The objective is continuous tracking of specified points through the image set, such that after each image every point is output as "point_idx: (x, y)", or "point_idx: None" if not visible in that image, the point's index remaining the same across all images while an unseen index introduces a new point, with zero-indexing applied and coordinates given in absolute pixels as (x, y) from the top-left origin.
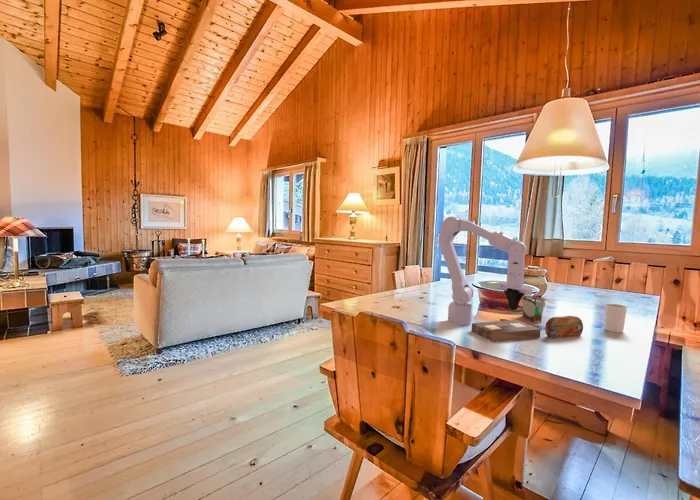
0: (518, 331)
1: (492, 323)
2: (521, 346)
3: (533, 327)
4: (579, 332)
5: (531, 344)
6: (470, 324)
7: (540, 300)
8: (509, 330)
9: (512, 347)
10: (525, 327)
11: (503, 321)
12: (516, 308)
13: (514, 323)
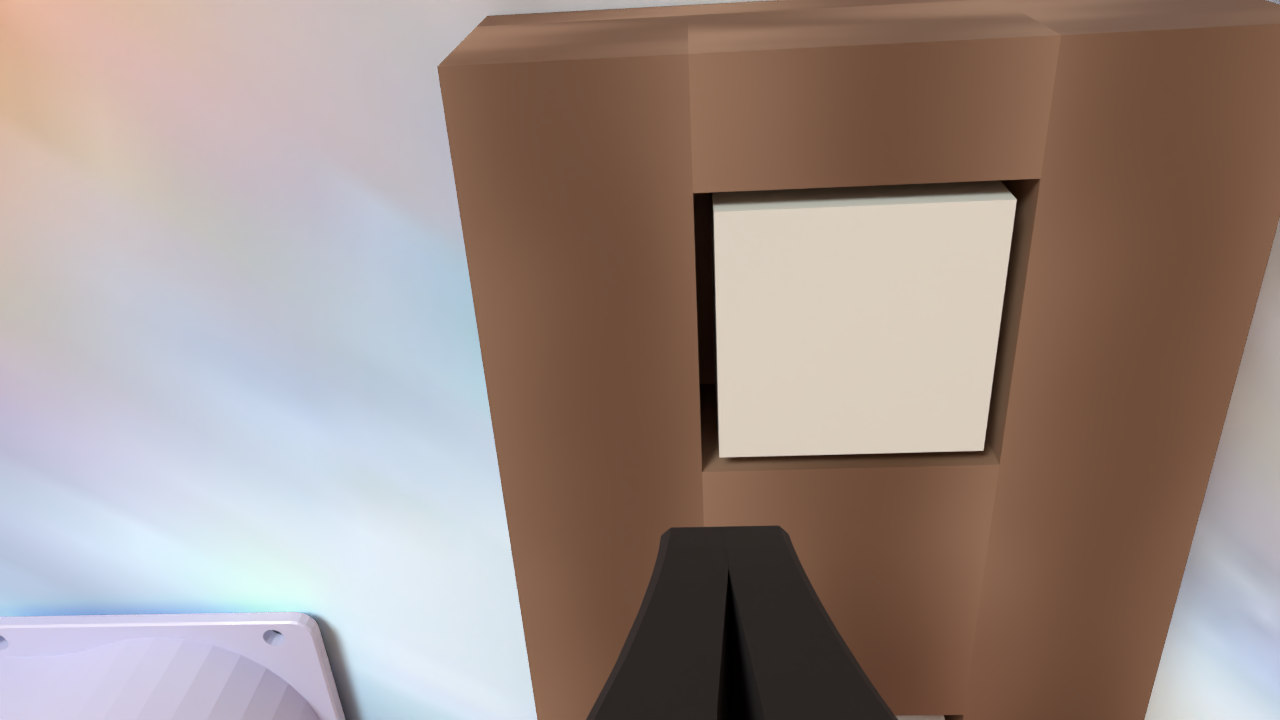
0: (1180, 576)
1: None
2: (1254, 514)
3: (1150, 107)
4: None
5: (1276, 317)
6: (277, 692)
7: None
8: (1080, 684)
9: (1218, 639)
10: (1069, 301)
11: (554, 457)
12: (792, 565)
13: (739, 333)
